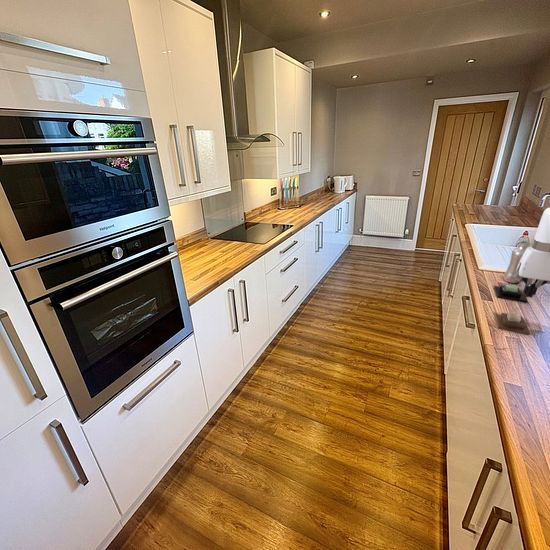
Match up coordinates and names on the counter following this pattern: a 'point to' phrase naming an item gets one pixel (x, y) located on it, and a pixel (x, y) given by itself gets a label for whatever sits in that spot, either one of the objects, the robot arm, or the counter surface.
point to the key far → (511, 288)
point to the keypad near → (511, 324)
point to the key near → (513, 317)
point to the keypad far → (509, 294)
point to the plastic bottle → (515, 262)
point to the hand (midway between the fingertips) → (527, 295)
